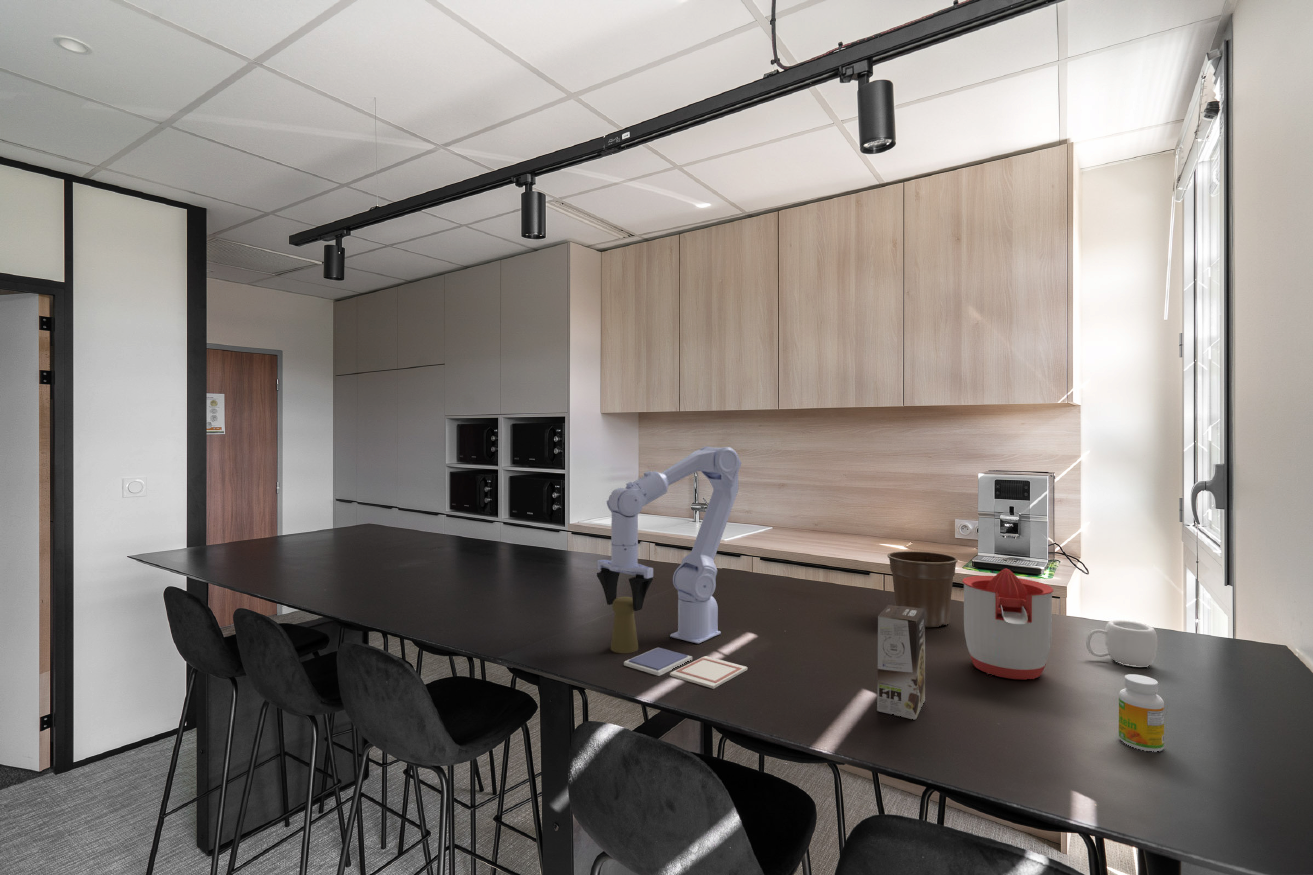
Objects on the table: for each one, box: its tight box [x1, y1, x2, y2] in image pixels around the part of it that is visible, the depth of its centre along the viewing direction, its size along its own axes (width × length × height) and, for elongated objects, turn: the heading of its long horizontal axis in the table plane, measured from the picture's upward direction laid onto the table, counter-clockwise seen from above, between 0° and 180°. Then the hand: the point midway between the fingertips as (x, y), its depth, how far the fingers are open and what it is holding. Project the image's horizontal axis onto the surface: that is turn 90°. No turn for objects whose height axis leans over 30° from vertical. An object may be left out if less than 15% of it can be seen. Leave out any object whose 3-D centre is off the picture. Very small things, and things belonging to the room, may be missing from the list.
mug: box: [1085, 619, 1158, 666], centre depth 127 cm, size 12×8×8 cm
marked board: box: [669, 655, 748, 690], centre depth 121 cm, size 12×10×1 cm
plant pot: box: [886, 550, 959, 628], centre depth 156 cm, size 16×16×16 cm
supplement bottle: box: [1118, 673, 1165, 753], centre depth 93 cm, size 5×5×10 cm
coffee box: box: [876, 604, 926, 720], centre depth 106 cm, size 9×6×16 cm
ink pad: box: [623, 647, 693, 677], centre depth 127 cm, size 11×9×1 cm
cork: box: [610, 596, 639, 654], centre depth 135 cm, size 6×6×11 cm
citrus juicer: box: [961, 568, 1054, 680], centre depth 122 cm, size 16×17×20 cm
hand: (624, 606), depth 135 cm, fingers open, 7 cm apart
